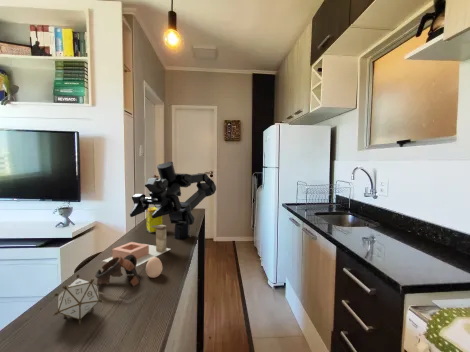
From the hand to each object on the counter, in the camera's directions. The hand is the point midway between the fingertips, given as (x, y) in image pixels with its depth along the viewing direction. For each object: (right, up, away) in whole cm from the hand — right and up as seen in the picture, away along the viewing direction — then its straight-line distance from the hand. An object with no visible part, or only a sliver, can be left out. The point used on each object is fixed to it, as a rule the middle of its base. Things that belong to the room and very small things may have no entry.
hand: (141, 216), depth 80 cm
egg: (+8, -15, -12) cm, 21 cm away
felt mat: (-2, -14, +3) cm, 14 cm away
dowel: (+5, -13, +7) cm, 16 cm away
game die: (-1, -16, -30) cm, 34 cm away
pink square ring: (-4, -14, +2) cm, 14 cm away
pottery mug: (+1, -15, -15) cm, 22 cm away
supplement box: (-6, -13, +32) cm, 35 cm away
